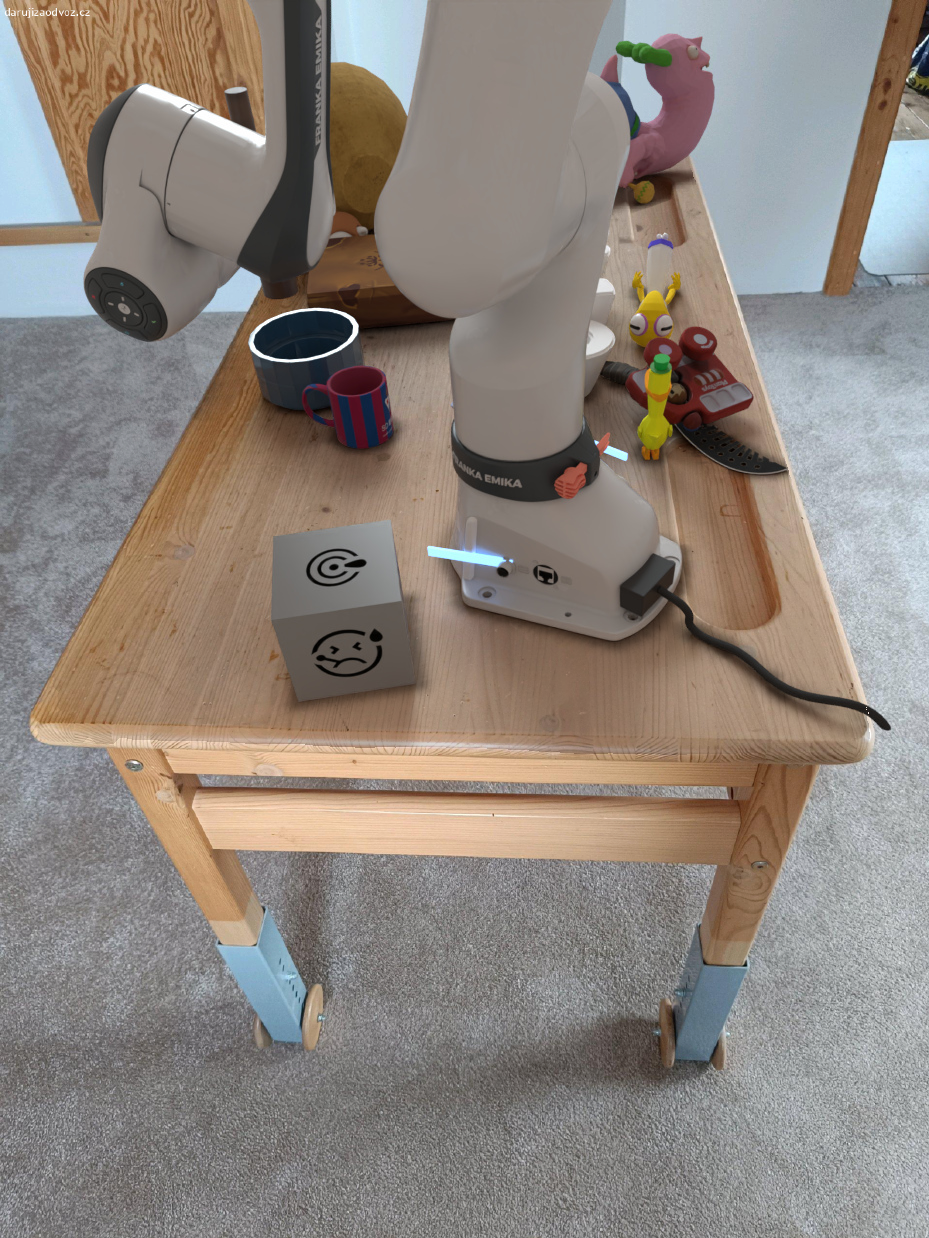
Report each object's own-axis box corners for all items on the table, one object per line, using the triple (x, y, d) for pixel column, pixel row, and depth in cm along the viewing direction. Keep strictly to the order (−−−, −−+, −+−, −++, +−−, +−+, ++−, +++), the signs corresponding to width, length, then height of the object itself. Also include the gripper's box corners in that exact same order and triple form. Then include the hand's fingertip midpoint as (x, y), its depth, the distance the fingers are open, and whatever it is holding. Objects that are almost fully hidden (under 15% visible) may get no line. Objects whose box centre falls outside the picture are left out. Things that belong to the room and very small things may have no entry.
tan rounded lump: (353, 54, 113) (291, -3, 131) (259, 209, 122) (213, 135, 140) (472, 161, 130) (402, 97, 147) (381, 290, 139) (326, 215, 157)
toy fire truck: (627, 345, 90) (685, 412, 87) (712, 317, 95) (771, 380, 91) (607, 392, 96) (661, 457, 93) (689, 364, 101) (743, 424, 97)
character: (686, 227, 114) (683, 276, 99) (678, 302, 120) (673, 358, 105) (639, 226, 115) (628, 274, 100) (633, 300, 121) (622, 356, 106)
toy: (544, -3, 139) (701, 38, 148) (510, 159, 152) (656, 187, 162) (596, 5, 120) (772, 51, 129) (553, 189, 134) (714, 219, 143)
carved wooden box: (314, 337, 116) (305, 296, 112) (319, 278, 129) (311, 240, 125) (480, 320, 116) (478, 278, 112) (468, 263, 129) (466, 224, 125)
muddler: (306, 288, 96) (264, 86, 81) (282, 302, 94) (235, 98, 79) (280, 281, 97) (235, 82, 83) (256, 295, 95) (205, 94, 81)
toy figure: (631, 436, 95) (639, 337, 86) (663, 435, 94) (675, 335, 86) (637, 472, 90) (647, 371, 81) (671, 471, 90) (684, 369, 81)
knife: (753, 495, 88) (788, 474, 89) (756, 481, 86) (791, 461, 88) (583, 378, 104) (615, 363, 105) (583, 366, 103) (615, 350, 104)
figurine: (300, 254, 121) (378, 243, 125) (281, 203, 123) (359, 194, 127) (296, 296, 129) (369, 285, 133) (279, 247, 131) (352, 238, 135)
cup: (385, 451, 96) (376, 398, 91) (302, 445, 98) (290, 394, 93) (400, 418, 100) (392, 366, 96) (321, 414, 102) (309, 363, 97)
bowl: (388, 373, 108) (380, 321, 103) (320, 425, 101) (308, 372, 96) (309, 350, 114) (298, 300, 109) (240, 397, 106) (225, 346, 101)
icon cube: (404, 602, 79) (390, 519, 72) (415, 683, 72) (401, 600, 65) (297, 618, 78) (273, 536, 71) (298, 701, 71) (270, 620, 64)
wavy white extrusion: (502, 284, 123) (500, 209, 115) (617, 284, 121) (622, 207, 113) (468, 418, 99) (462, 334, 92) (610, 421, 97) (615, 335, 89)
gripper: (302, 194, 74) (348, 141, 83) (94, 193, 78) (160, 142, 87) (316, 265, 79) (358, 208, 88) (119, 261, 82) (179, 206, 92)
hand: (258, 175), depth 87 cm, fingers closed on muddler, 2 cm apart
